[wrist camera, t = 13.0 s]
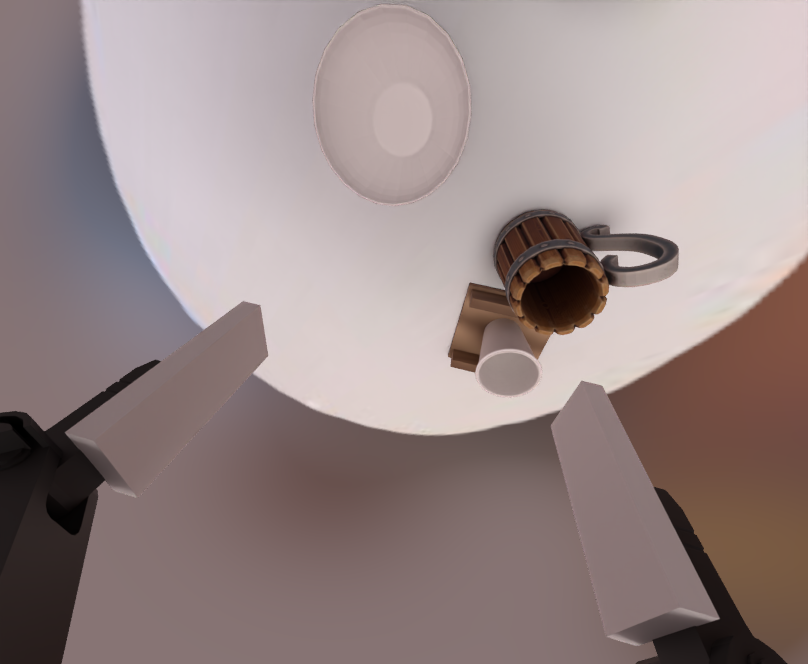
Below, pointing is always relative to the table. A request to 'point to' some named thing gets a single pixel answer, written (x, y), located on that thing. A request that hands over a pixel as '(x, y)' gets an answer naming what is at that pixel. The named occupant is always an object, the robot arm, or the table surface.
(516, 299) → the mug
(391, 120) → the bowl
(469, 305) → the rail stand
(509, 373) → the dixie cup
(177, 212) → the table surface
